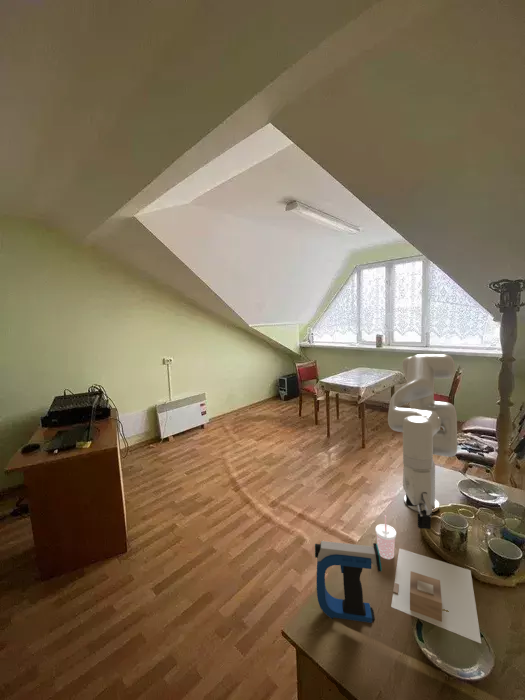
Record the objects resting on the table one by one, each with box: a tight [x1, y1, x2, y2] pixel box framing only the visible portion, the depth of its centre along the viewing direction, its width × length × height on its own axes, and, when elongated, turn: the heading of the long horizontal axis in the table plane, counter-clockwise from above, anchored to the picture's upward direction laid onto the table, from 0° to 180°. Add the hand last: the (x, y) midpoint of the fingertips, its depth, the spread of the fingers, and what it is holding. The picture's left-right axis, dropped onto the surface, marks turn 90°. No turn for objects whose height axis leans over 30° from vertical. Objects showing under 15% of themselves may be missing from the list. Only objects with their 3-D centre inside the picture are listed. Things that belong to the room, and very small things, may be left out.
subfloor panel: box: [390, 548, 482, 644], centre depth 81 cm, size 22×24×2 cm
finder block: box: [410, 571, 442, 622], centre depth 76 cm, size 7×7×5 cm
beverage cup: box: [374, 514, 397, 560], centre depth 93 cm, size 6×6×14 cm
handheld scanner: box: [314, 540, 383, 624], centre depth 75 cm, size 5×16×20 cm, turn 78°
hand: (417, 516), depth 85 cm, fingers open, 9 cm apart
